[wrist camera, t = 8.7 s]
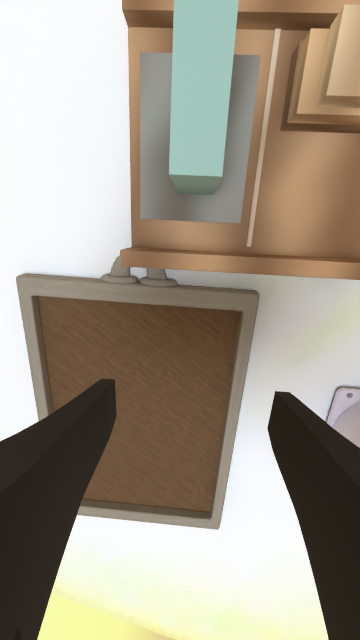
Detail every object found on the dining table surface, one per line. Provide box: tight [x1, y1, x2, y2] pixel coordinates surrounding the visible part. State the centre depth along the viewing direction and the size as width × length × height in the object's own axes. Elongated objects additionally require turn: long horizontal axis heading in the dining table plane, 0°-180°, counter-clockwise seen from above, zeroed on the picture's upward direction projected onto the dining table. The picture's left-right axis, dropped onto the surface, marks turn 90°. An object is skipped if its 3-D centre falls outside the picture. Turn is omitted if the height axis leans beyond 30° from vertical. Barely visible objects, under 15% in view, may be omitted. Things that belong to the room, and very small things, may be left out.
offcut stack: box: [280, 5, 360, 133], centre depth 13 cm, size 6×4×4 cm, turn 87°
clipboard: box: [16, 256, 259, 529], centre depth 24 cm, size 19×2×30 cm
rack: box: [120, 0, 360, 280], centre depth 15 cm, size 18×14×4 cm
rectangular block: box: [169, 0, 239, 195], centre depth 13 cm, size 2×6×6 cm, turn 177°
